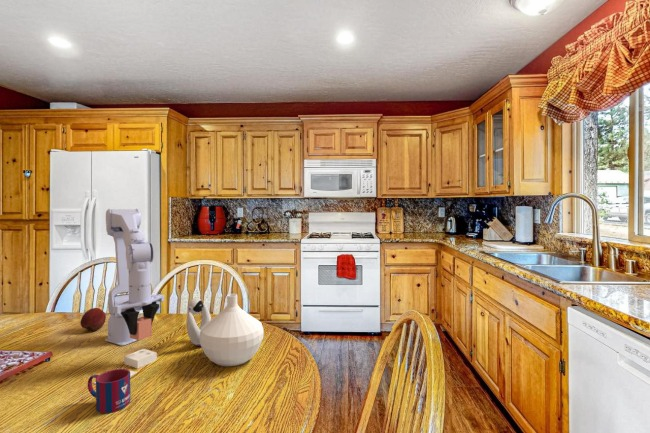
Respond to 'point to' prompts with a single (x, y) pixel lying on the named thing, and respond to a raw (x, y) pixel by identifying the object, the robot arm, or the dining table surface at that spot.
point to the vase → (231, 335)
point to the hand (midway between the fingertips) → (140, 331)
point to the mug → (111, 390)
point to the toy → (192, 328)
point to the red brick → (142, 329)
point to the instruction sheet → (130, 374)
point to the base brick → (140, 358)
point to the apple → (93, 319)
